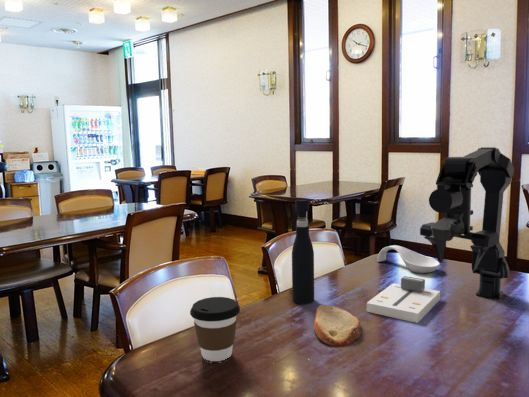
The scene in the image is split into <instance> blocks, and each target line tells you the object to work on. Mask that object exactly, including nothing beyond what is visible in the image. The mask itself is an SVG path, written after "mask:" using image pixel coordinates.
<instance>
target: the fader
mask: <svg viewBox="0 0 529 397" xmlns="http://www.w3.org/2000/svg"><path fill="white" fill-rule="evenodd" d="M400 284H401V289H406V290H412V291H417V292H422V291H423V290H424V289H426V286H425V284H426V279H424V278H419V277H412V276H406V275H404V276H403V277H401V279H400Z"/></svg>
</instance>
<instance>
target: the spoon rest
mask: <svg viewBox="0 0 529 397" xmlns="http://www.w3.org/2000/svg"><path fill="white" fill-rule="evenodd" d="M390 250H393V251H394V250H395V251H396V252H397V253H398V255H399V256H400V258H401V260H402V261H403V263H404V264H405V266H406V267H407V268H408V269H409V270H410V271H412V272H413V271H414V273H418V274H429V273H431V272H434V271H436V270H437V269H438V268H439V266H441V265H440V264H441V263H439V262H438V259H437V260H436V259H434V258H433V257H431V256H426V255H423V254H421V253H418V252H417V251H414V250H411V249H409V248H406V247H404V246H400V245H396V244H393V245H389V246H385V247H383V248H382V249H381V250H380V251H379V253H378V254H377V256H376V257H377V258H376V262H378V263H380V262H385V261H386V259H387V253H388V251H390Z"/></svg>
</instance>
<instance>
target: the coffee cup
mask: <svg viewBox="0 0 529 397" xmlns="http://www.w3.org/2000/svg"><path fill="white" fill-rule="evenodd" d="M240 310H241V306H240V305H239V303H238V302H237V301H236V300H235V299H233V298H230V297H225V296H210V297H205V298H202V299H200V300H197V301H196V302H194V303H193V304H192V307H191V308H190V311H189V313H190V316H191V318H192V319H193V320H194V321H193V324H194V330H195V334H196V339H197V342H198V346H199V348H200V353H201V356H202V357H203V360H205V359H206V360H210V361H221V360H225V359H227V358H229V357H230V358H231V357H232V353H233V346H234V343H235V337H236V328H237V321H238V317H237V316H238V315H239V314H240ZM230 358H229V359H230ZM206 360H205V361H206Z"/></svg>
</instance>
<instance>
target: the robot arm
mask: <svg viewBox="0 0 529 397" xmlns="http://www.w3.org/2000/svg"><path fill="white" fill-rule="evenodd" d="M514 173H515V168H514V165H513V163H512V160H511V159H510V157H508V156H506V155H504V154H503V153H501V151H500V149H499V148H497V147H493V146H492V147H491V146H490V147H489V146H488V147H486V146H485V147H479V148H478V149H477V150H475V151H473V152H470V153H468V154H466V155H464V156H448V157H446V158H445V159H444V161H443V162H442V164H441V167H440V170H439V173H438V176H437V179H436V182H435V185H436V189H434V190H433V191H432V192H431V193H430V194H429V197H428V203H429V206H430V208H431V209H432V210H433V211H434V212H436V213H441V214H442V216H441V219H439V220H437V221H436V222H433V221H432V222H427V223H424V224H422V225H421V226H420V227H419V235H420V236H423V238H424V239H425V240H427V241H428V242H429V243H431V246H432V247H433V250H434V253H435V256H436V258H437V261H438V262H439V263H440V264H442V263H443V261H444V256H445V249H446V248H445V246H446V242H450V241H452V240H453V238H460V239H465V240H470V241H471V243H472V245H470V246H469V247H470V249H471V251H472V253H471V271H472V273H473V274H475V275H476V274H477V275H479V280H478V283H479V284H478V285H479V286H478V289H477V291H476V292H475V296H479V297H483V298H491V299H495V300H496V299H497V300H500V299H501V298H502V297H503V294H504V291H502V290H501V288H502V287H501V286H502V280H504V279H508V278H509V274H510V267H509V264H508V262H507V260H506V258H505V249H504V248H503V246H502V244H501V242H500V238H501V227H502V226H501V225H502V224H501V223H502V215H503V214H502V211H503V204H504V203H503V202H504V193H505V191H506V190H507V188H508V187H509V186H510V185H511V183H512V178H513V176H514ZM478 175H479V181H480V184H481V186H482V187H483V189H484V191H485V193H484V202H483V203H484V205H483V218H482V228H481V230H479V231H476V232H472V231H473V230H474V229H473V227H474V226H473V225H471V216H472V215H474V210H473V209H472V208H471V207H472V206H471V204H472V188H474V181H475V178H476V177H477V176H478Z"/></svg>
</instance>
